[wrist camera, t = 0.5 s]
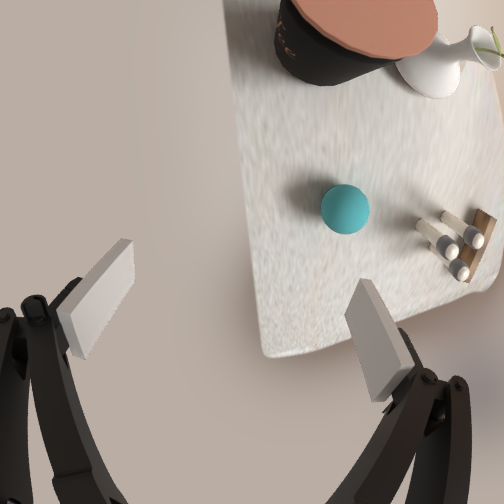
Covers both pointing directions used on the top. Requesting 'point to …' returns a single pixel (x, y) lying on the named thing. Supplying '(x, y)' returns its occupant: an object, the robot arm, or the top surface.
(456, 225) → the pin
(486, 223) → the back wall
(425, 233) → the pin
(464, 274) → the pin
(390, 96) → the top surface
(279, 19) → the coffee jar
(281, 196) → the top surface
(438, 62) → the flower in vase
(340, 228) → the ball
